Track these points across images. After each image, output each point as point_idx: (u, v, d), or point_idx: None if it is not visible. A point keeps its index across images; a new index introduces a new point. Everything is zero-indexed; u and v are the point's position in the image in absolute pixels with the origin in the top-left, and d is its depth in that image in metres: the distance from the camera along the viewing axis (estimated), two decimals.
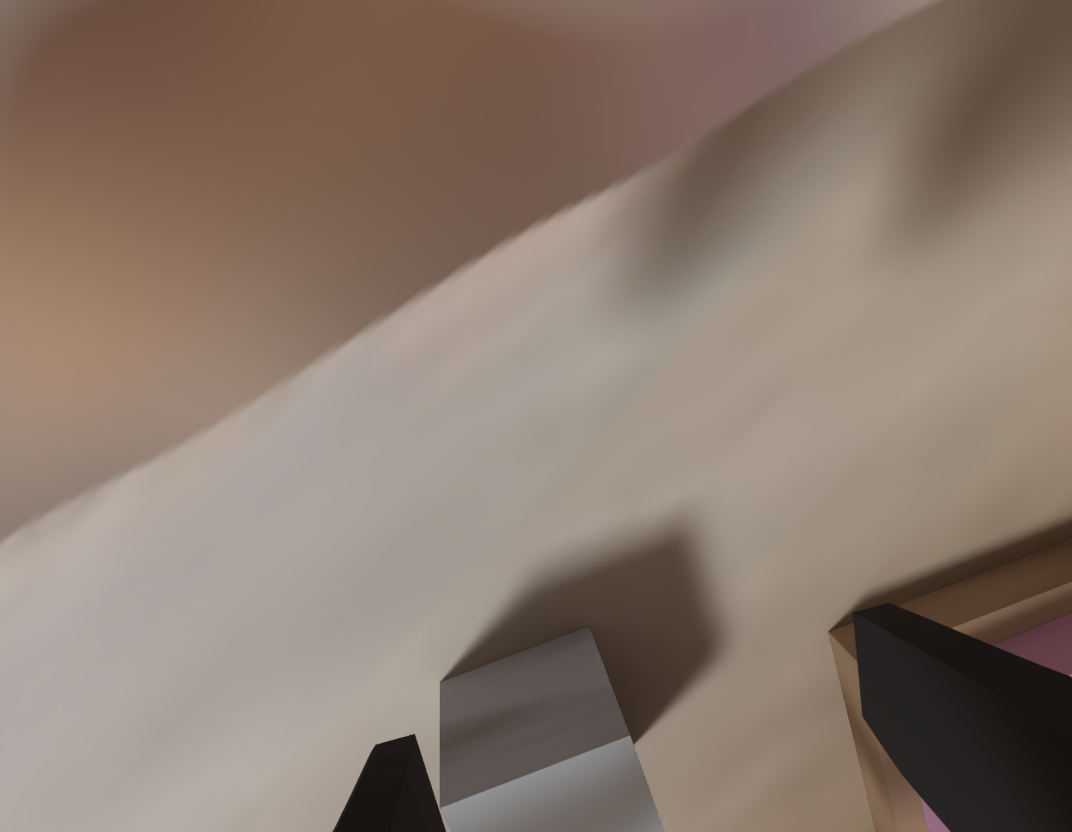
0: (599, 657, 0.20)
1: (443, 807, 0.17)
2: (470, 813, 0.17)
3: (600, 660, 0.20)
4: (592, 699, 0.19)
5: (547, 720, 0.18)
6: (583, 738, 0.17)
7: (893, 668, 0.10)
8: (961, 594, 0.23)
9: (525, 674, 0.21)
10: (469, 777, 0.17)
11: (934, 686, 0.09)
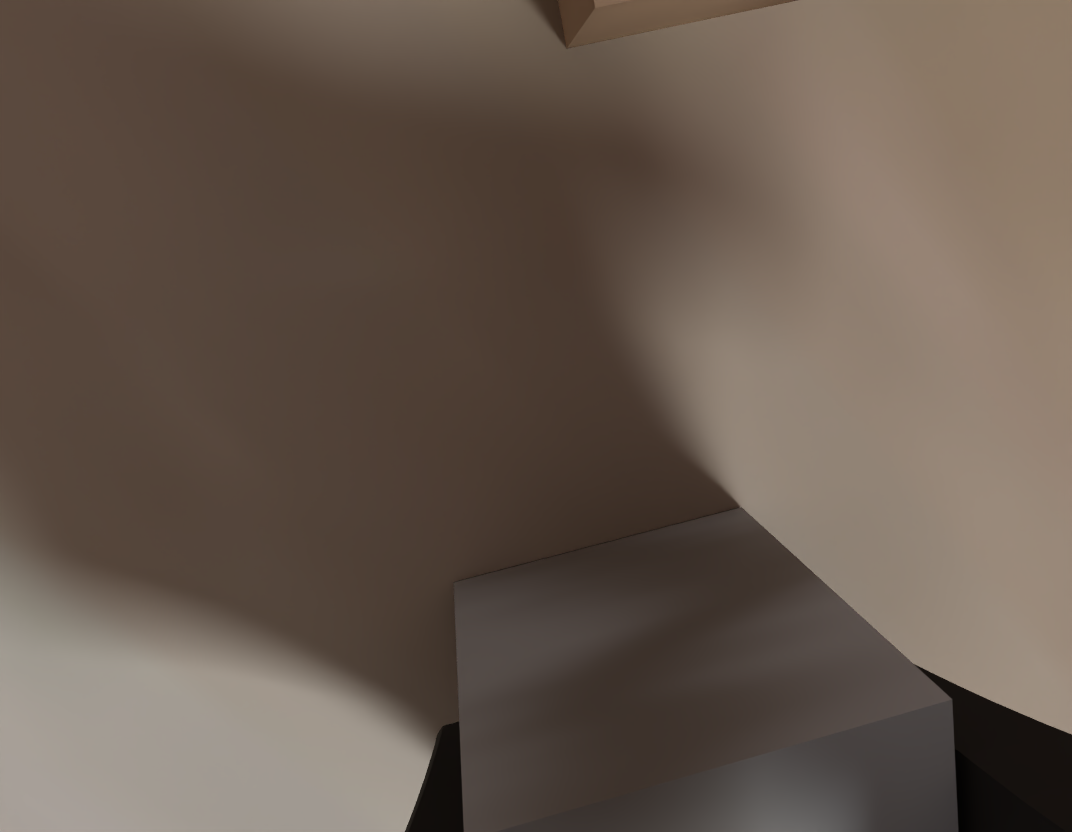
0: (456, 645, 0.10)
1: None
2: None
3: (457, 651, 0.09)
4: None
5: None
6: None
7: None
8: None
9: None
10: None
11: None
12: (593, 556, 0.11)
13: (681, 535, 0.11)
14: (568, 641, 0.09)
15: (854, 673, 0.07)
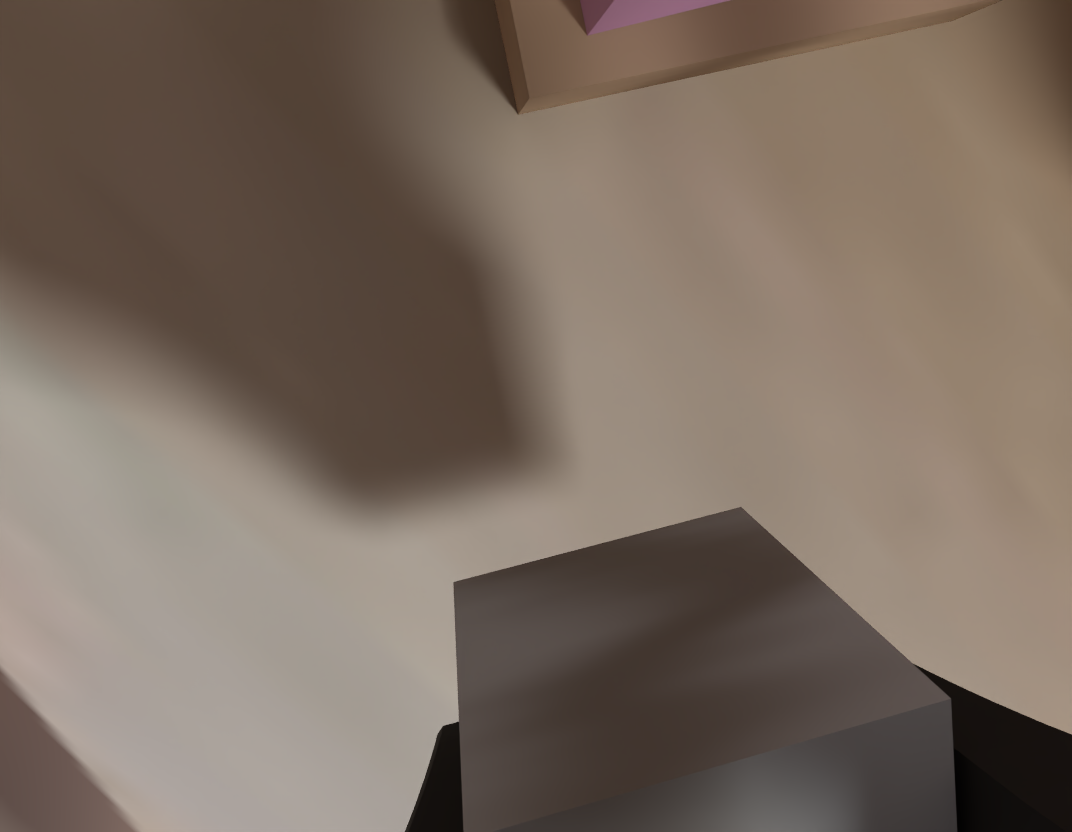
0: (456, 644, 0.10)
1: None
2: None
3: (456, 651, 0.10)
4: None
5: None
6: None
7: None
8: None
9: None
10: None
11: None
12: (592, 556, 0.11)
13: (681, 535, 0.11)
14: (567, 640, 0.09)
15: (853, 672, 0.07)
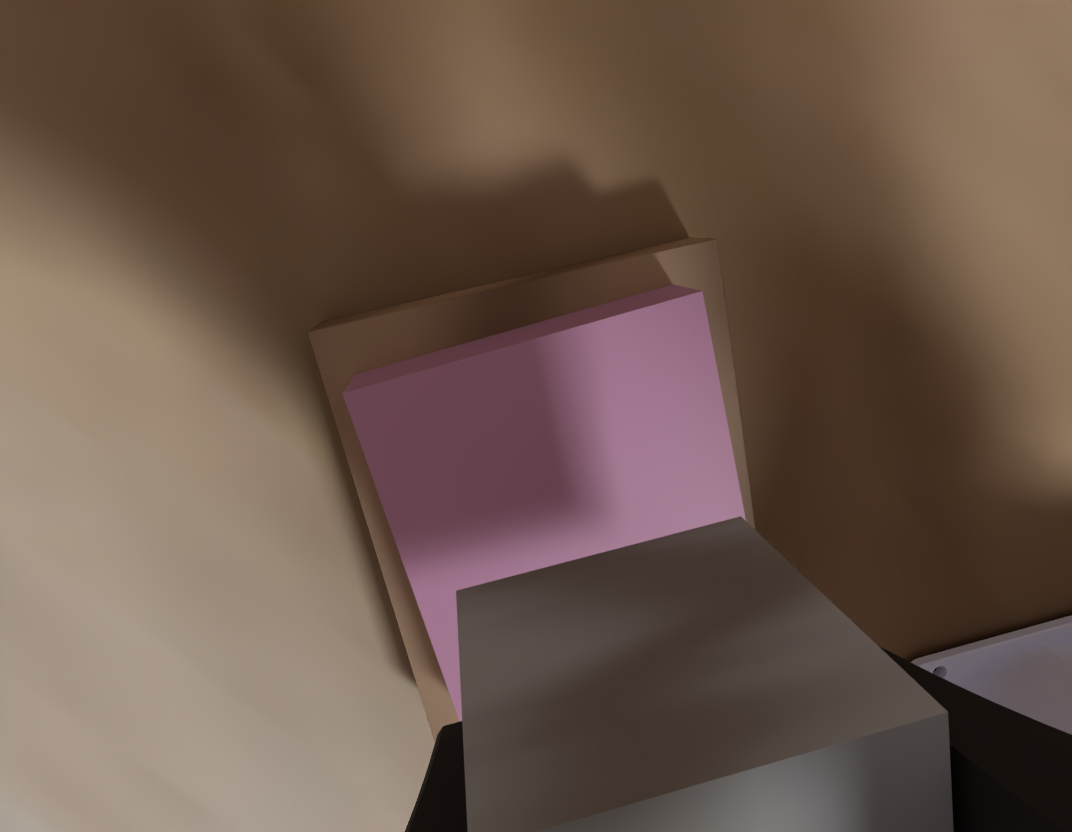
0: (459, 654, 0.10)
1: None
2: None
3: (459, 660, 0.10)
4: None
5: None
6: None
7: None
8: None
9: None
10: None
11: None
12: (594, 565, 0.11)
13: (681, 544, 0.11)
14: (569, 650, 0.09)
15: (852, 685, 0.08)
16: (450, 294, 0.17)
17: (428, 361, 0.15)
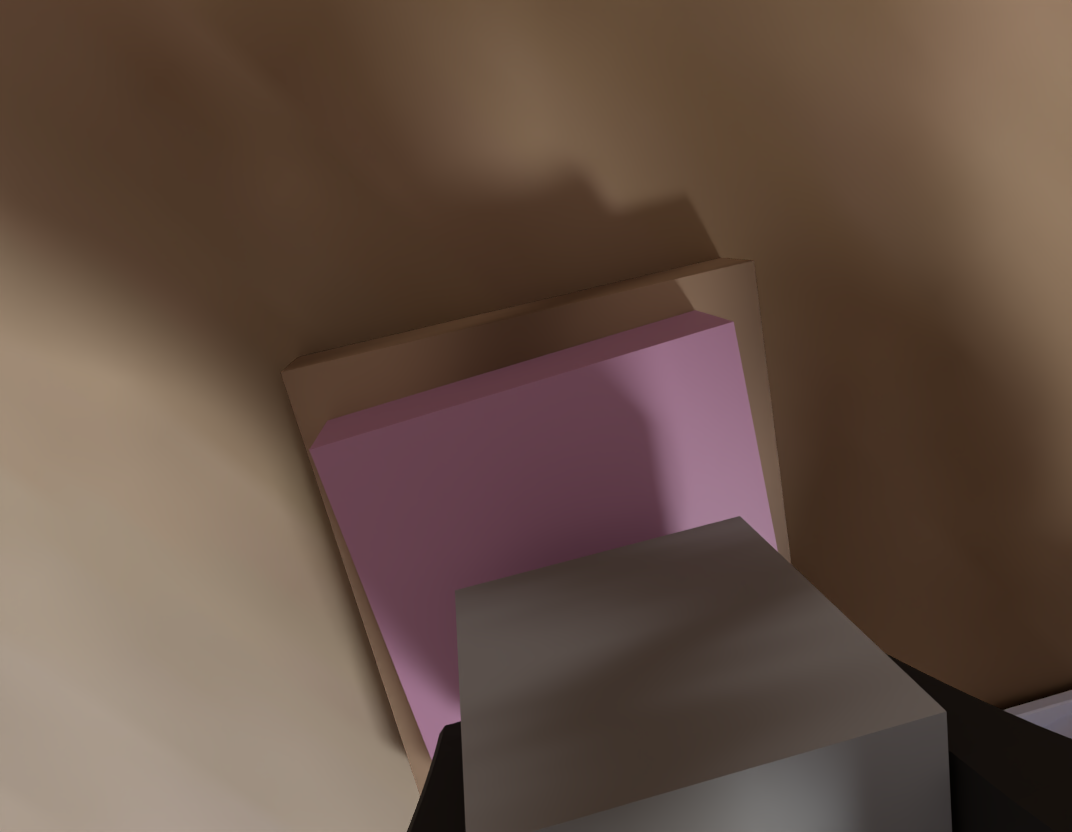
0: (458, 653, 0.10)
1: None
2: None
3: (458, 660, 0.10)
4: None
5: None
6: None
7: None
8: None
9: None
10: None
11: None
12: (592, 565, 0.11)
13: (680, 544, 0.11)
14: (567, 650, 0.09)
15: (850, 685, 0.08)
16: (446, 324, 0.15)
17: (412, 407, 0.13)
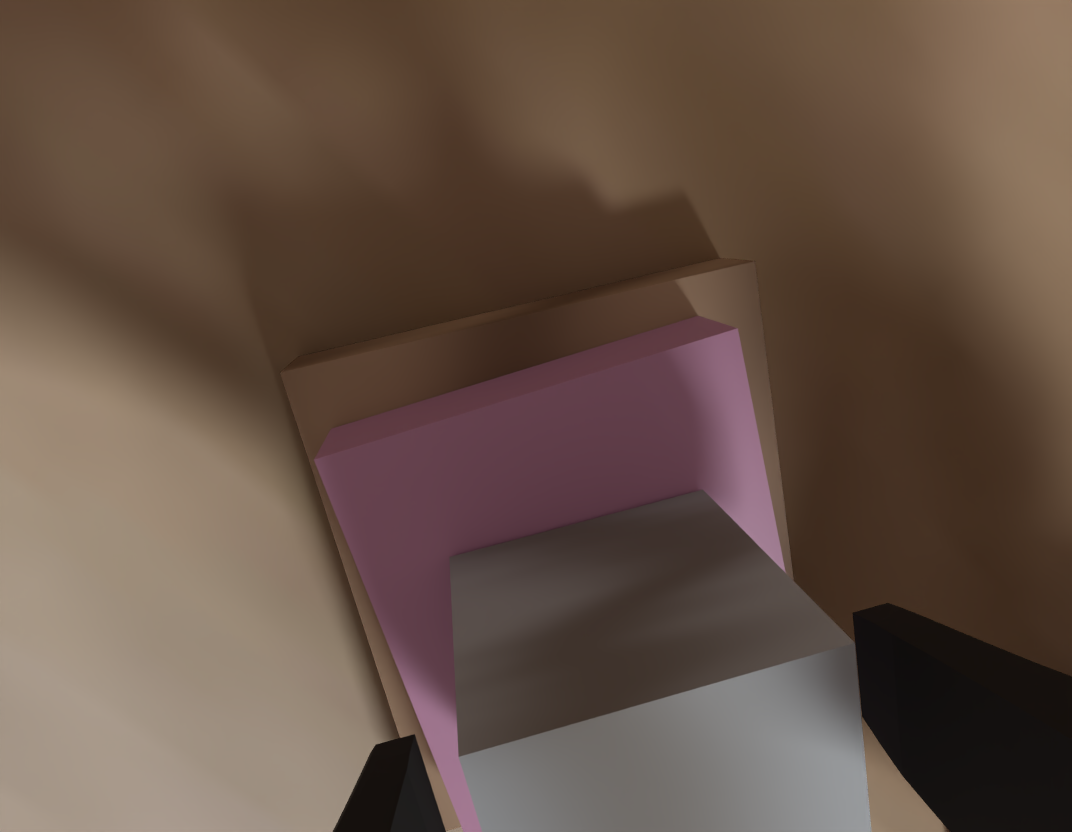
0: (452, 609, 0.11)
1: None
2: None
3: (452, 614, 0.11)
4: None
5: None
6: None
7: (893, 668, 0.10)
8: None
9: None
10: None
11: (934, 686, 0.09)
12: (571, 534, 0.13)
13: (649, 514, 0.13)
14: (546, 604, 0.11)
15: (780, 624, 0.09)
16: (446, 324, 0.15)
17: (416, 415, 0.13)
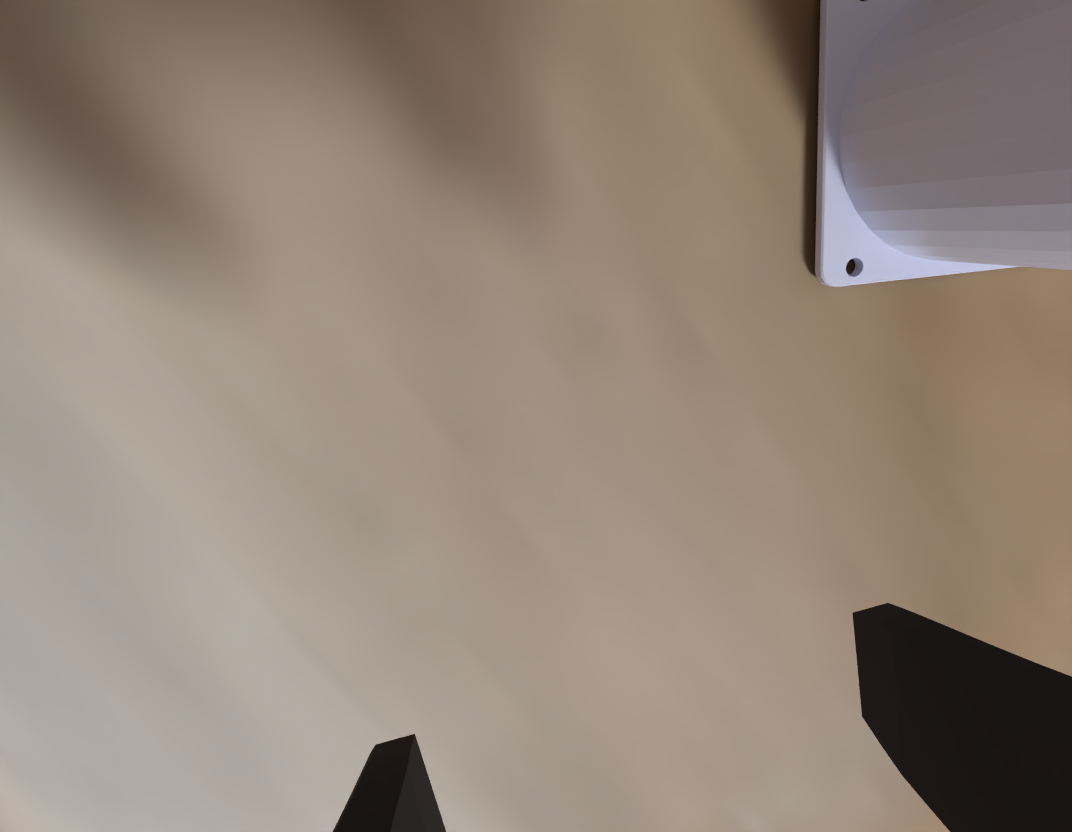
0: None
1: None
2: None
3: None
4: None
5: None
6: None
7: (893, 668, 0.10)
8: None
9: None
10: None
11: (934, 686, 0.09)
12: None
13: None
14: None
15: None
16: None
17: None
